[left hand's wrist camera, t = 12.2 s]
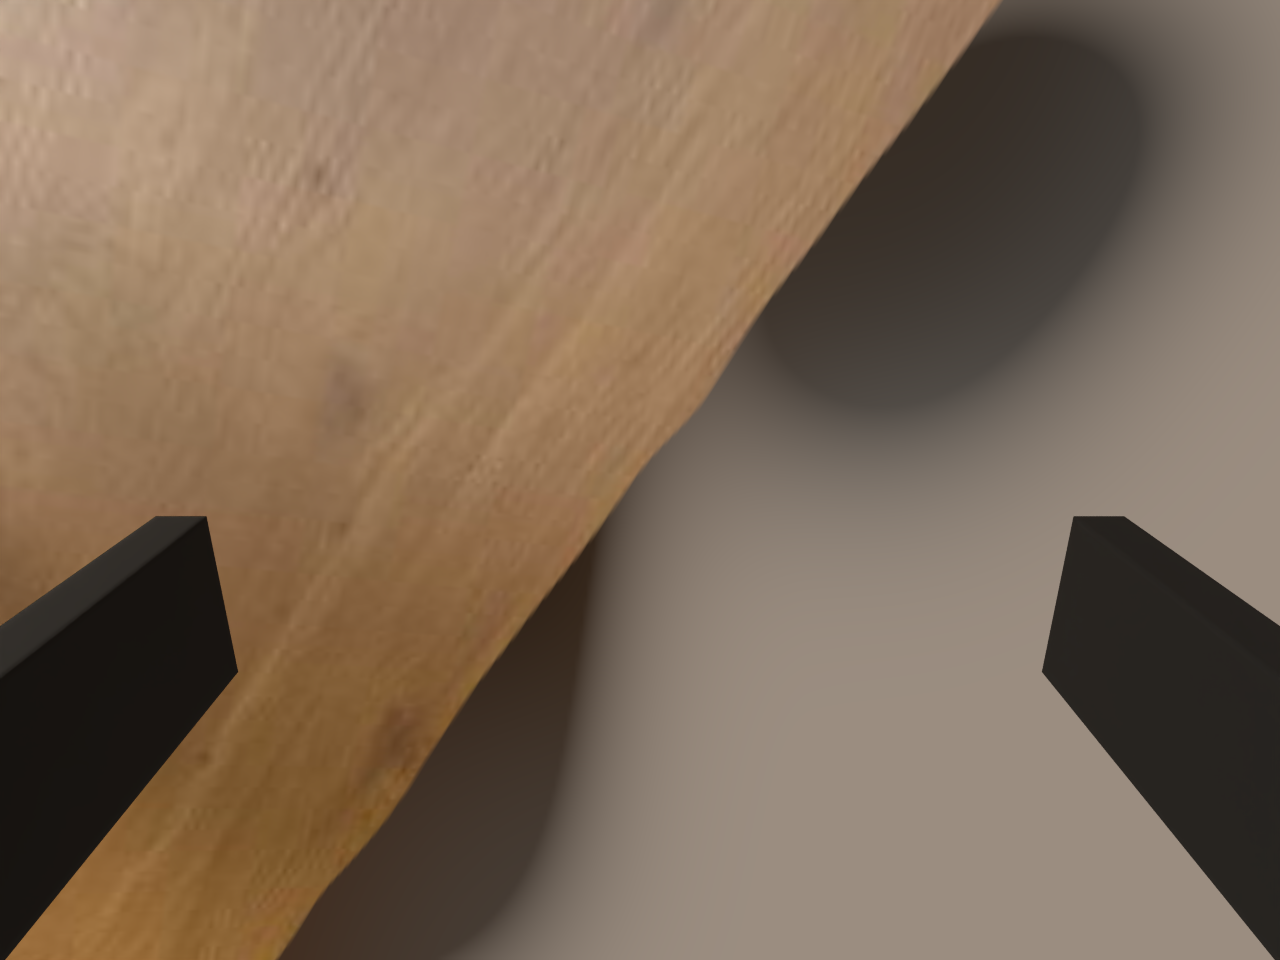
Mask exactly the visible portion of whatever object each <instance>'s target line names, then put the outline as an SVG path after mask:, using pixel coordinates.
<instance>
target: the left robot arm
mask: <svg viewBox="0 0 1280 960" xmlns="http://www.w3.org/2000/svg"><path fill="white" fill-rule="evenodd" d="M1042 672H1043V674H1044V675H1045V676H1046V677H1047V679H1048V680H1049V681H1050V682H1051V684H1052V685H1053V686H1054V687H1055V689H1056V690H1057V691H1058V692H1059V693H1060V695H1061V696H1062V697H1063V698H1064V700H1065V701H1066V702H1067V703H1068V705H1069V706H1070V707H1071V708H1072V710H1073V711H1074V712H1075V713H1076V715H1077V716H1078V717H1079V718H1080V719H1081V721H1082V722H1083V723H1084V724H1085V726H1086V727H1087V728H1088V729H1089V731H1090V732H1091V733H1092V734H1093V736H1094V737H1095V738H1096V739H1097V741H1098V742H1099V743H1100V744H1101V745H1102V747H1103V748H1104V749H1105V750H1106V752H1107V753H1108V754H1109V755H1110V757H1111V758H1112V759H1113V760H1114V762H1115V763H1116V764H1117V765H1118V766H1119V768H1120V769H1121V770H1122V771H1123V773H1124V774H1125V775H1126V776H1127V778H1128V779H1129V780H1130V781H1131V782H1132V784H1133V785H1134V786H1135V788H1136V789H1137V790H1138V791H1139V792H1140V794H1141V795H1142V796H1143V797H1144V799H1145V800H1146V801H1147V802H1148V804H1149V805H1150V806H1151V807H1152V809H1153V810H1154V811H1155V812H1156V813H1157V815H1158V816H1159V817H1160V818H1161V820H1162V821H1163V822H1164V823H1165V825H1166V826H1167V827H1168V828H1169V830H1170V831H1171V832H1172V833H1173V834H1174V836H1175V837H1176V838H1177V839H1178V841H1179V842H1180V843H1181V844H1182V846H1183V847H1184V848H1185V849H1186V851H1187V852H1188V853H1189V854H1190V856H1191V857H1192V858H1193V859H1194V860H1195V862H1196V863H1197V864H1198V865H1199V867H1200V868H1201V869H1202V870H1203V872H1204V873H1205V874H1206V875H1207V877H1208V878H1209V879H1210V880H1211V881H1212V883H1213V884H1214V885H1215V886H1216V888H1217V889H1218V890H1219V891H1220V893H1221V894H1222V895H1223V896H1224V898H1225V899H1226V900H1227V901H1228V902H1229V904H1230V905H1231V906H1232V907H1233V909H1234V910H1235V911H1236V912H1237V914H1238V915H1239V916H1240V917H1241V919H1242V920H1243V921H1244V922H1245V924H1246V925H1247V926H1248V927H1249V928H1250V930H1251V931H1252V932H1253V933H1254V935H1255V936H1256V937H1257V938H1258V940H1259V941H1260V942H1261V943H1262V945H1263V946H1264V947H1265V948H1266V949H1267V951H1268V952H1269V953H1270V954H1271V956H1272V957H1273V958H1274V959H1275V960H1280V626H1279V625H1277V624H1276V623H1275V622H1273V621H1272V620H1270V619H1269V618H1268V617H1266V616H1265V615H1263V614H1262V613H1260V612H1259V611H1257V610H1256V609H1255V608H1253V607H1252V606H1251V605H1249V604H1248V603H1246V602H1245V601H1243V600H1242V599H1241V598H1239V597H1238V596H1236V595H1235V594H1233V593H1232V592H1231V591H1229V590H1228V589H1226V588H1225V587H1224V586H1222V585H1221V584H1219V583H1218V582H1216V581H1215V580H1214V579H1212V578H1211V577H1209V576H1208V575H1206V574H1205V573H1204V572H1202V571H1201V570H1199V569H1198V568H1197V567H1195V566H1194V565H1192V564H1191V563H1189V562H1188V561H1187V560H1185V559H1184V558H1182V557H1181V556H1180V555H1178V554H1177V553H1175V552H1174V551H1173V550H1171V549H1170V548H1168V547H1167V546H1165V545H1164V544H1163V543H1161V542H1160V541H1158V540H1157V539H1155V538H1154V537H1153V536H1151V535H1150V534H1148V533H1147V532H1146V531H1144V530H1143V529H1141V528H1140V527H1138V526H1137V525H1136V524H1134V523H1133V522H1131V521H1130V520H1129V519H1127V518H1126V517H1124V516H1074V517H1073V522H1072V527H1071V532H1070V537H1069V542H1068V547H1067V551H1066V556H1065V561H1064V566H1063V571H1062V576H1061V581H1060V586H1059V591H1058V596H1057V600H1056V606H1055V610H1054V615H1053V620H1052V625H1051V630H1050V635H1049V640H1048V645H1047V650H1046V655H1045V659H1044V664H1043V669H1042ZM237 673H238V669H237V664H236V659H235V655H234V650H233V645H232V640H231V635H230V630H229V625H228V620H227V615H226V610H225V605H224V600H223V596H222V591H221V586H220V581H219V576H218V571H217V566H216V561H215V556H214V551H213V546H212V542H211V537H210V532H209V527H208V522H207V517H206V516H156V517H154V518H153V519H151V520H150V521H149V522H147V523H146V524H144V525H143V526H141V527H140V528H139V529H137V530H136V531H134V532H133V533H132V534H130V535H129V536H127V537H126V538H124V539H123V540H122V541H120V542H119V543H117V544H116V545H115V546H113V547H112V548H110V549H109V550H107V551H106V552H105V553H103V554H102V555H100V556H99V557H98V558H96V559H95V560H93V561H92V562H90V563H89V564H88V565H86V566H85V567H83V568H82V569H81V570H79V571H78V572H76V573H75V574H73V575H72V576H71V577H69V578H68V579H66V580H65V581H64V582H62V583H61V584H59V585H58V586H56V587H55V588H54V589H52V590H51V591H49V592H48V593H47V594H45V595H44V596H42V597H41V598H39V599H38V600H37V601H35V602H34V603H32V604H31V605H29V606H28V607H27V608H25V609H24V610H22V611H21V612H20V613H18V614H17V615H15V616H14V617H12V618H11V619H10V620H8V621H7V622H5V623H4V624H3V625H1V626H0V960H5V959H6V958H7V957H8V956H9V954H10V953H11V952H12V951H13V949H14V948H15V947H16V946H17V945H18V943H19V942H20V941H21V940H22V938H23V937H24V936H25V935H26V933H27V932H28V931H29V930H30V928H31V927H32V926H33V925H34V924H35V922H36V921H37V920H38V919H39V917H40V916H41V915H42V914H43V912H44V911H45V910H46V909H47V907H48V906H49V905H50V904H51V902H52V901H53V900H54V899H55V898H56V896H57V895H58V894H59V893H60V891H61V890H62V889H63V888H64V886H65V885H66V884H67V883H68V881H69V880H70V879H71V878H72V877H73V875H74V874H75V873H76V872H77V870H78V869H79V868H80V867H81V865H82V864H83V863H84V862H85V860H86V859H87V858H88V857H89V856H90V854H91V853H92V852H93V851H94V849H95V848H96V847H97V846H98V844H99V843H100V842H101V841H102V839H103V838H104V837H105V836H106V834H107V833H108V832H109V831H110V830H111V828H112V827H113V826H114V825H115V823H116V822H117V821H118V820H119V818H120V817H121V816H122V815H123V813H124V812H125V811H126V810H127V809H128V807H129V806H130V805H131V804H132V802H133V801H134V800H135V799H136V797H137V796H138V795H139V794H140V792H141V791H142V790H143V789H144V788H145V786H146V785H147V784H148V783H149V781H150V780H151V779H152V778H153V776H154V775H155V774H156V773H157V771H158V770H159V769H160V768H161V766H162V765H163V764H164V763H165V762H166V760H167V759H168V758H169V757H170V755H171V754H172V753H173V752H174V750H175V749H176V748H177V747H178V745H179V744H180V743H181V742H182V741H183V739H184V738H185V737H186V736H187V734H188V733H189V732H190V731H191V729H192V728H193V727H194V726H195V724H196V723H197V722H198V721H199V719H200V718H201V717H202V716H203V715H204V713H205V712H206V711H207V710H208V708H209V707H210V706H211V705H212V703H213V702H214V701H215V700H216V698H217V697H218V696H219V695H220V694H221V692H222V691H223V690H224V689H225V687H226V686H227V685H228V684H229V682H230V681H231V680H232V679H233V677H234V676H235V675H236V674H237Z"/></svg>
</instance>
